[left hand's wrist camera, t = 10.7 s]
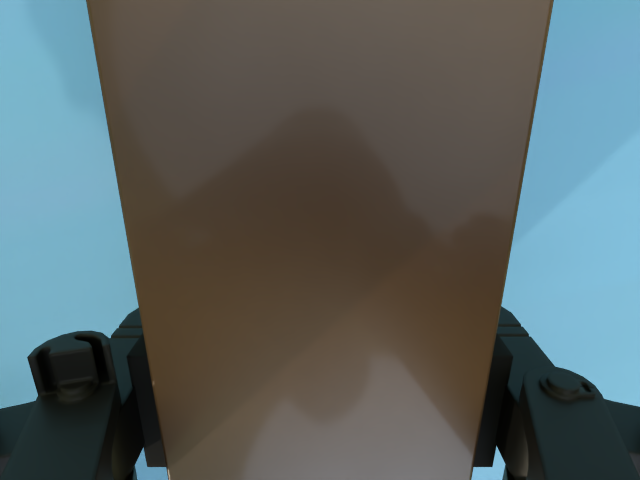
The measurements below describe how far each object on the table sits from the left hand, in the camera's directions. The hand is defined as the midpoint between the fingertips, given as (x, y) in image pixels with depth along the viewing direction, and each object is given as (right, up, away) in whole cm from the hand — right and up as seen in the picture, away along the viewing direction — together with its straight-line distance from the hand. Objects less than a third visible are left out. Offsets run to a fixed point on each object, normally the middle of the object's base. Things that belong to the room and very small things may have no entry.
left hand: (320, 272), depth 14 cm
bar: (0, +31, -11) cm, 33 cm away
